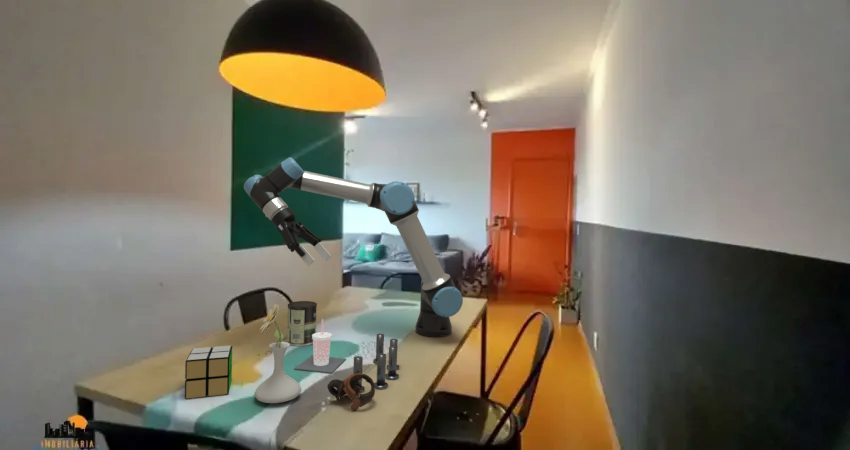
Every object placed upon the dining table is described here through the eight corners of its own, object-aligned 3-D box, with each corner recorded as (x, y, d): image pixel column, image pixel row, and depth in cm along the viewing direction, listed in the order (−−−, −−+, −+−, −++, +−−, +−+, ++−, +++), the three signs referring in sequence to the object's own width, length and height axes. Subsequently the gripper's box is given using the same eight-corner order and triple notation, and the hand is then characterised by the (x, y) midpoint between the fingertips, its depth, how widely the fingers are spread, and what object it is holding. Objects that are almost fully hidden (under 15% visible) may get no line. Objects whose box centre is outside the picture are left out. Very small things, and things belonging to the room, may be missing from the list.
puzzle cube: (191, 384, 113) (192, 347, 113) (231, 380, 117) (232, 345, 117) (184, 400, 104) (185, 360, 104) (228, 395, 108) (229, 357, 107)
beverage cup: (335, 361, 132) (336, 318, 132) (322, 368, 127) (324, 322, 126) (319, 358, 135) (320, 315, 134) (307, 364, 129) (308, 319, 129)
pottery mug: (368, 393, 113) (378, 372, 109) (367, 424, 104) (377, 403, 101) (325, 384, 110) (333, 363, 106) (320, 416, 102) (329, 393, 98)
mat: (311, 356, 138) (311, 355, 138) (346, 359, 136) (346, 358, 136) (294, 369, 126) (294, 368, 126) (331, 373, 124) (331, 372, 124)
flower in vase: (262, 388, 112) (264, 296, 112) (305, 388, 113) (307, 297, 112) (244, 411, 99) (247, 307, 98) (293, 411, 100) (296, 308, 99)
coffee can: (314, 336, 159) (315, 300, 158) (317, 345, 149) (318, 306, 149) (285, 338, 155) (286, 301, 154) (287, 347, 145) (288, 307, 145)
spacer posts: (375, 359, 137) (376, 332, 137) (407, 362, 135) (408, 335, 135) (347, 392, 111) (348, 359, 111) (387, 397, 110) (388, 363, 109)
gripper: (290, 221, 153) (327, 263, 151) (251, 222, 129) (295, 273, 127) (304, 207, 152) (341, 250, 150) (267, 205, 128) (311, 257, 126)
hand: (320, 260), depth 138 cm, fingers open, 13 cm apart
